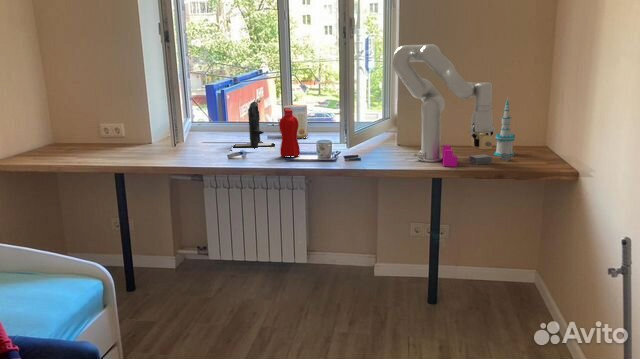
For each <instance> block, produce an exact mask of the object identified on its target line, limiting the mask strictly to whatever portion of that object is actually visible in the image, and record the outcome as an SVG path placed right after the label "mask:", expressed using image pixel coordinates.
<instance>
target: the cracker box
mask: <svg viewBox="0 0 640 359" xmlns="http://www.w3.org/2000/svg"><path fill="white" fill-rule="evenodd" d="M286 110H292V111H293V116H295V117H296V118H297V120H298V123H299V126H298V132H297V138H304V137H305V138H306V137H307V136H308V137H309V132H308V130H309V129H308V106H307V104H289V105H288V104H287V105H286V104H285V105H284V106H283V112H284V111H286Z"/></svg>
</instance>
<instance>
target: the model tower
mask: <svg viewBox="0 0 640 359" xmlns="http://www.w3.org/2000/svg"><path fill="white" fill-rule="evenodd" d="M510 110H511V109H510V102H509V97H507V99H506V102H505V106H504V109H503V111H504V112H503V116H501V128H500V133H495V141H496V150H495V152H494V153H493V155H494V156H496V157H501V153H506V154H509V155H511V157H514V156H515V153H514V152H513V149H514V148H513V147H514V146H513V144H514V141H515V138H516V135H515V134H514V133H512V132H511V123H512V122H511V121H512V117H511V113H510Z"/></svg>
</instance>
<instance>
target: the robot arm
mask: <svg viewBox="0 0 640 359" xmlns="http://www.w3.org/2000/svg"><path fill="white" fill-rule="evenodd" d="M391 61H392V62H391V63H392V64H391V65H392V68H393V71H394V72H395V74H396V75H397V77H398V78H399V79H400V81H401V82H402V84H403V85H404V86H405V87H406V89H407V91H408V92H409V93H410V94H411V96H412V97H413V98H415V99H419V100H421V102H422V103H421V105H420V106H421V107H420V114H421V144H420V145H421V147H420V148H421V149H420V150H419V151H418V152H412V154H411V155H412V157H413V158H415V157H417V159H418V160H419V161H422V162H426V163H430V162H431V163H436V162H443V161H442V159H443V158H442V156H443V155H441V142H442V141H441V139H442V138H441V137H442V117H441V116H442V112H443V111H444V110H445V106H446V101H445V99H444V97H443V96H442V94H441V93H440V92H439V90H438V89H437V88H436V87H435V85H434V84H433V83H432V82H431V81H430V80H429V79H427V78H425V77H424V78H423V77H421V76H420V74H419V73H418V71H417V70H416V69H415V68H414V67H413V66H412V64H411V63H425V65H427V66H428V67H429V68H430V69H431V70H432V71H433V72H434V73H435V74H436V75H437V76H438V77H439V78H440V79H441V80H442V82H443V83H444V84H445V85H446V86H447V87H448V88H449V90H451V92H453V94H455V96H457V97H458V98H460V99H462V100H469V99H471V98H475V101H474V111H473V113H472V115H471V120H470V121H471V122H470V129H469V130H468V134H469V135H470V136H472V137H473V138H474V146H475V147H474V148H476V147H479V139H478V138H479V134H480V133H482V134H486V135H490V136H492V137H493V135H494V133H495V132H497V129H496V127H495V126H494V116H493V115H494V114H493V111H492V109H493V108H494V105H492V101H493V100H492V98H493V97H492V96H493V85H492V83H491V82H484V81H483V82H473V81H472V82H471V81H466V80H465V79H464V78H462V76H461V75H460V74H459V73H458V72H457V70H456V67H455V65H454V64H453V63H452V62H451V61H450V60H449V59H448V58H447V57H446V56H445V55H444V54H443V53H442V52H441V49H440V47H439V46H438V45H436V44H429V43H428V44H406V45H401V46H399V47H397V49H396V50H395V51H394V53H393V56H392V60H391Z"/></svg>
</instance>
